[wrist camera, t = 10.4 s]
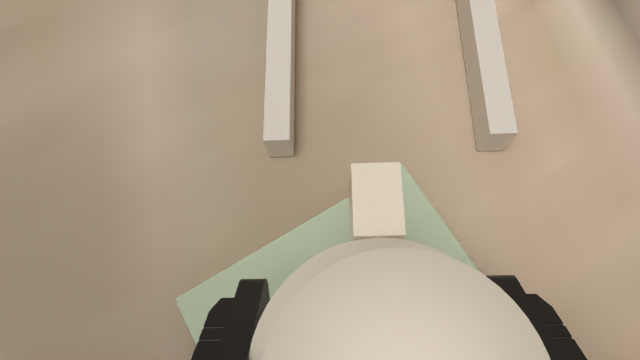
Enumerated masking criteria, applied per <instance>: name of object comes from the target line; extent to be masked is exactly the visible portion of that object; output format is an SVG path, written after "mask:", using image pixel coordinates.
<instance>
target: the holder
mask: <svg viewBox="0 0 640 360" xmlns="http://www.w3.org/2000/svg"><path fill="white" fill-rule="evenodd" d="M456 6H457V13H458V20H459V27H460V34H461V41H462V49H463V56H464V63H465V70H466V77H467V84H468V91H469V98H470V105H471V112H472V119H473V127H474V134H475V141H476V148H477V151H502V150H503V149H504V148H505V147H506V145H507V144H508V143H509V142H510V141H511V140H512V139H513V138H514V136H515V135H516V134H517V133H518V132H517V127H516V121H515V115H514V110H513V104H512V99H511V93H510V87H509V82H508V76H507V70H506V65H505V59H504V53H503V48H502V42H501V37H500V31H499V25H498V20H497V14H496V8H495V3H494V0H456ZM295 18H296V0H268V23H267V51H266V78H265V106H264V134H263V141H264V144H265V146H266V148H267V151H268V153H269V155H270V157H292V156H294V115H295Z"/></svg>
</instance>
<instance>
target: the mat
mask: <svg viewBox="0 0 640 360" xmlns="http://www.w3.org/2000/svg"><path fill="white" fill-rule="evenodd" d="M401 177H402V190H403V203H404V216H405V229H406V236H405V237H404V240H409V241H414V242H417V243H421V244H424V245H427V246H430V247H432V248H435V249H437V250H439V251H441V252H443V253H446V254H447V255H449V256H451V257H452V258H454V259H456V260H458V261H460V262H463V263H465V264H467V265H469V266H470V267H472V268H474V269H475V270H477V271H479V270H478V269H477V267H476V266H475V265H474V263H473V262H472V260H471V259H470V258H469V256H468V255H467V253H466V252H465V251H464V249H463V248H462V246H461V245H460V244H459V242H458V241H457V239H456V238H455V237H454V235H453V234H452V232H451V231H450V230H449V228H448V227H447V225H446V224H445V223H444V221H443V220H442V218H441V217H440V216H439V214H438V213H437V211H436V210H435V209H434V207H433V206H432V204H431V203H430V202H429V200H428V199H427V197H426V196H425V195H424V193H423V192H422V190H421V189H420V188H419V186H418V185H417V183H416V182H415V181H414V179H413V178H412V176H411V175H410V174H409V172H408V171H407V169H406V168H405V167H404V165H402V166H401ZM345 242H350V236H349V197H347V198H346V199H344V200H342V201H341V202H339V203H337V204H335V205H334V206H332V207H330V208H329V209H327V210H325V211H323V212H322V213H320V214H318V215H317V216H315V217H313V218H312V219H310V220H308V221H306V222H305V223H303V224H301V225H300V226H298V227H296V228H295V229H293V230H291V231H289V232H288V233H286V234H284V235H283V236H281V237H279V238H277V239H276V240H274V241H272V242H271V243H269V244H267V245H266V246H264V247H262V248H260V249H259V250H257V251H255V252H254V253H252V254H250V255H249V256H247V257H245V258H243V259H242V260H240V261H238V262H237V263H235V264H233V265H231V266H230V267H228V268H226V269H225V270H223V271H221V272H220V273H218V274H216V275H214V276H213V277H211V278H209V279H208V280H206V281H204V282H202V283H201V284H199V285H197V286H196V287H194V288H192V289H191V290H189V291H187V292H185V293H184V294H182V295H180V296H179V297H177V298H175V300H176V302H177V305H178V307H179V309H180V311H181V313H182V316H183V318H184V320H185V322H186V324H187V327H188V329H189V331H190V333H191V335H192V337H193V340H194V342H195V344H196V345H197V342H199V337H200V334H201V332H202V329H203V328H204V324H205V321H206V318H207V315H208V313H209V311H210V310H211V308H212V307H213V306H214V305H215V304H216V303H217V302H218V301H219V300H220V299H221V298H234V297H235V293H236V290H237V287H238V284H239V281H240V280H241V279H267V281H268V287H269V295H270V300H271V298H272V297H273V295H274V294H275V292H276V291H277V289H278V288H279V287H280V286H281V285H282V284H283V282H284V281H285V280H286V279H287V278H288V277H289V276H290V275H291V274H292V273H293V272H294V271H295V270H296V269H298V268H299V267H300V266H301V265H302V264H304V263H305V262H307V261H308V260H310V259H311V258H312V257H314V256H315V255H317V254H319V253H321V252H323V251H325V250H327V249H329V248H331V247H334V246H337V245H340V244H343V243H345Z"/></svg>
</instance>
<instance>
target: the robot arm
mask: <svg viewBox="0 0 640 360" xmlns="http://www.w3.org/2000/svg"><path fill="white" fill-rule="evenodd" d="M486 277H488V278H489V279H490V280H491V281H493V282H494V283H495V284H497V285H498V286H499V287H500V288H501V289H502V290H503V291H504V292H505V293H507V294H508V295H509V296H510V297H511V298H512V299H513V300H514V301H515V303H516V304H517V305H518V306H519V307H520V309H521V310H522V311H523V312H524V314H525V315H526V316H527V317H528V319H529V320H530V322H531V324H532V325H533V327H534V328H535V330H536V331H537V333H538V334H539V336H540V338H541V340H542V342H543V344H544V346H545V348H546V350H547V352H548V354H549V357H550V360H587V359H586V357H585V356H584V354H583V353H582V351H581V350H580V348H579V346H578V345H577V343H576V342H575V340H574V339H572V337H571V334H570V333H569V331H568V330H567V328H566V327H565V326H563V322H562V321H561V319H560V318H559V316H558V315H557V313H556V312H555V310H554V308H553V307H552V306H550V305H549V304H548V303H547V302H545V301H544V300H543V299H542V298H540V297H539V296H538V295H537V294H526V293H525V291H524V290H523V288H522V286H521V285H520V283H519V281H518V280H517V278H516V277H515V276H513V275H498V276H486ZM269 301H270V295H269V287H268V281H267V279H241V280H240V281H239V284H238V287H237V290H236V293H235V297H234V298H221V299H220V300H219V301H218V302H217V303H216V304H215V305H214V306H213V307H212V308H211V310H210V311H209V313H208V315H207V318H206V321H205V324H204V328H203V329H202V332H201V334H200V337H199V342H197V345H196V348H195V351H194V353H193V356H192V359H191V360H249V351H250V347H251V342H252V338H253V336H254V333H255V330H256V327H257V324H258V322H259V320H260V318H261V316H262V314H263V312H264V310H265V308H266V306H267V304H268V303H269Z"/></svg>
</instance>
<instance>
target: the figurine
mask: <svg viewBox="0 0 640 360" xmlns="http://www.w3.org/2000/svg"><path fill="white" fill-rule="evenodd" d="M349 236H350V242H345V243H343V244H340V245H337V246H334V247H331V248H329V249H327V250H325V251H323V252H321V253H319V254H317V255H315V256H314V257H312V258H311V259H310V260H308V261H307V262H305V263H304V264H302V265H301V266H300V267H299V268H298V269H296V270H295V271H294V272H293V273H292V274H291V275H290V276H289V277H288V278H287V279H286V280H285V281H284V282H283V284H282V285H281V286H280V287H279V288H278V289H277V291H276V292H275V294H274V295H273V297H272V298H271V300H270V301H269V303H268V304H267V306H266V308H265V310H264V312H263V314H262V316H261V318H260V320H259V322H258V324H257V327H256V330H255V333H254V336H253V338H252V342H251V347H250V351H249V360H550V357H549V354H548V352H547V350H546V348H545V346H544V344H543V342H542V340H541V338H540V336H539V334H538V333H537V331H536V330H535V328H534V327H533V325H532V324H531V322H530V320H529V319H528V317H527V316H526V315H525V314H524V312H523V311H522V310H521V309H520V307H519V306H518V305H517V304H516V303H515V301H514V300H513V299H512V298H511V297H510V296H509V295H508V294H507V293H505V292H504V291H503V290H502V289H501V288H500V287H499V286H498V285H497V284H495V283H494V282H493V281H491V280H490V279H489V278H488V277H486V276H485V275H484V274H482V273H480V272H479V271H477V270H475V269H474V268H472V267H470V266H469V265H467V264H465V263H463V262H460V261H458V260H456V259H454V258H452V257H451V256H449V255H447V254H446V253H443V252H441V251H439V250H437V249H435V248H432V247H430V246H427V245H424V244H421V243H417V242H414V241H409V240H404V237H405V236H406V229H405V216H404V203H403V190H402V177H401V164H400V162H389V163H352V164H351V173H350V194H349Z"/></svg>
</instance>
